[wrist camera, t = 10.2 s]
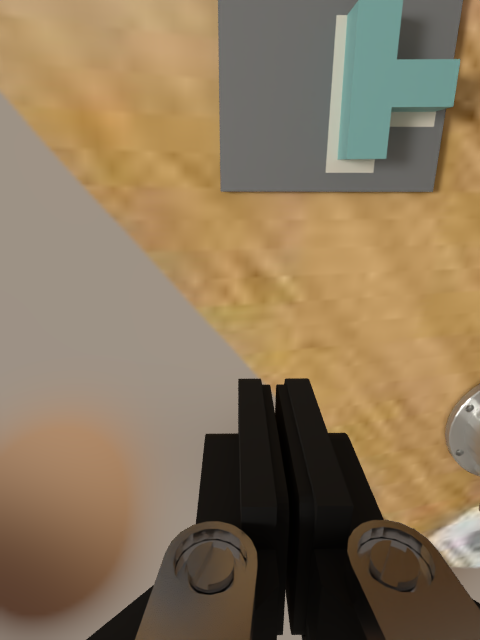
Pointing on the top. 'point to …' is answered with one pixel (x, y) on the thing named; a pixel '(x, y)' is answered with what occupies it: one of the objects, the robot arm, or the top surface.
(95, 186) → the top surface
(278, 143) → the board
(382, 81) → the t block
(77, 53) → the top surface
